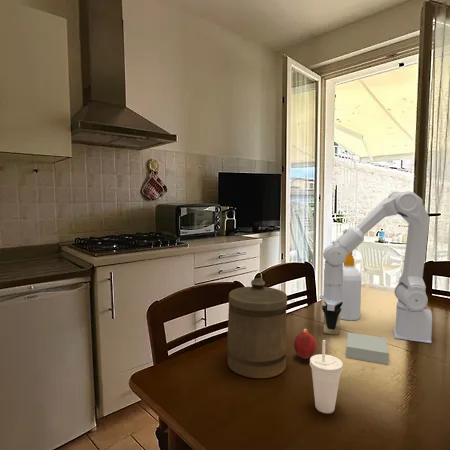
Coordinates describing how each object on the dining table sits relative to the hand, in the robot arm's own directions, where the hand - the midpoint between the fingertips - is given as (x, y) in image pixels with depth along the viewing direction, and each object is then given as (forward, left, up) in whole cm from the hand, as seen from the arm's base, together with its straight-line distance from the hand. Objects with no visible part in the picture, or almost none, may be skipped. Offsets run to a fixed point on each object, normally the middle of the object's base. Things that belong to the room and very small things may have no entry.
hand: (331, 325), depth 106 cm
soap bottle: (-4, -16, -2) cm, 17 cm away
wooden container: (+16, +29, -2) cm, 33 cm away
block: (0, 0, -2) cm, 2 cm away
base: (-10, +12, -2) cm, 16 cm away
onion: (+5, +22, -2) cm, 23 cm away
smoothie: (-2, +41, -2) cm, 41 cm away
